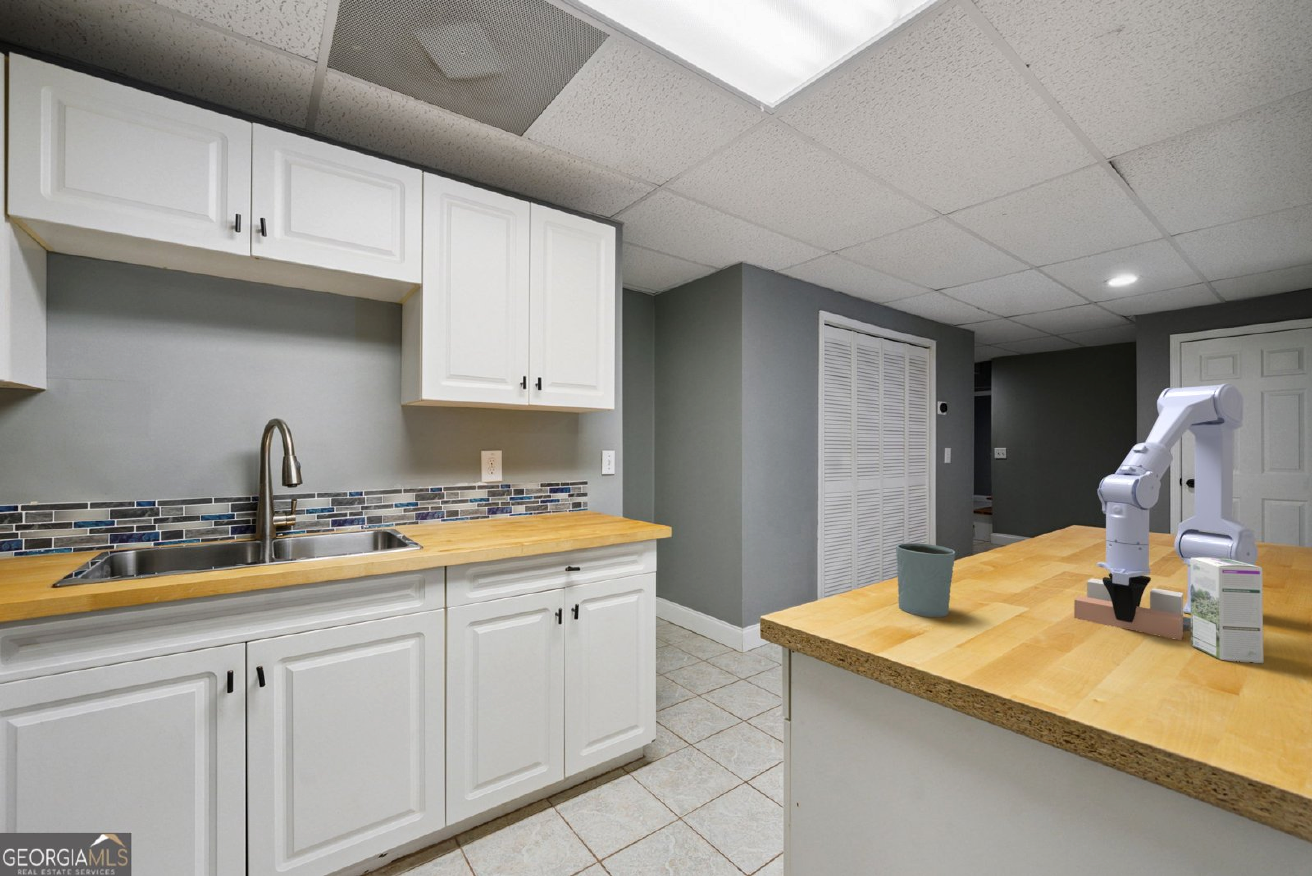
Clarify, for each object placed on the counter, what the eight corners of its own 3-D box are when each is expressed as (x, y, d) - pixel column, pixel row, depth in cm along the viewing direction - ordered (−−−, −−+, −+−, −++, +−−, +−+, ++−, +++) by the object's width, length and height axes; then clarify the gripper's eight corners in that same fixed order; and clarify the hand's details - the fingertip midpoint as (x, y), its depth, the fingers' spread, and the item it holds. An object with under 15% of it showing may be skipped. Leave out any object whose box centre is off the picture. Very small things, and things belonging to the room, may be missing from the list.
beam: (1078, 614, 99) (1079, 595, 100) (1182, 635, 89) (1183, 614, 89) (1074, 618, 97) (1074, 599, 97) (1180, 641, 86) (1180, 619, 86)
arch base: (1085, 603, 106) (1085, 576, 106) (1191, 623, 94) (1191, 593, 95) (1079, 609, 102) (1079, 581, 102) (1188, 631, 91) (1188, 599, 91)
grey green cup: (888, 600, 106) (889, 541, 106) (941, 603, 105) (942, 543, 105) (905, 617, 96) (906, 552, 96) (964, 620, 95) (964, 554, 95)
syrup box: (1265, 664, 77) (1266, 566, 77) (1218, 660, 78) (1218, 564, 78) (1231, 649, 83) (1232, 558, 83) (1187, 645, 84) (1188, 556, 84)
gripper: (1105, 534, 101) (1104, 604, 101) (1090, 543, 91) (1089, 620, 91) (1155, 539, 95) (1155, 613, 95) (1145, 550, 86) (1144, 632, 86)
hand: (1126, 618), depth 93 cm, fingers closed on beam, 4 cm apart
